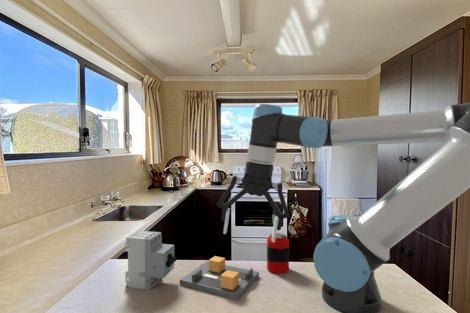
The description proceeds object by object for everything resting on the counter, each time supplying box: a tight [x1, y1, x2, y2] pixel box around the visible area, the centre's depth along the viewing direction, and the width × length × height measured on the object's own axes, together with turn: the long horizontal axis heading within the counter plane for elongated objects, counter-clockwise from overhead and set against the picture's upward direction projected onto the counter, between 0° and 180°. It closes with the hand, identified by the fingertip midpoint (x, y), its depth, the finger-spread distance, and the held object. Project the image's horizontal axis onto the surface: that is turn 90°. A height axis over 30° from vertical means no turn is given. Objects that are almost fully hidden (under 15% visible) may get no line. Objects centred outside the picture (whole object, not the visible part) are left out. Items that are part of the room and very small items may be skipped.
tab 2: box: [221, 270, 239, 290], centre depth 80 cm, size 4×4×4 cm
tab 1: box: [208, 255, 226, 273], centre depth 91 cm, size 4×4×4 cm
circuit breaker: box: [124, 230, 177, 290], centre depth 85 cm, size 8×14×15 cm, turn 78°
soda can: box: [266, 232, 290, 275], centre depth 95 cm, size 8×8×12 cm
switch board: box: [179, 260, 260, 301], centre depth 87 cm, size 20×16×4 cm
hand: (248, 236), depth 76 cm, fingers open, 13 cm apart
